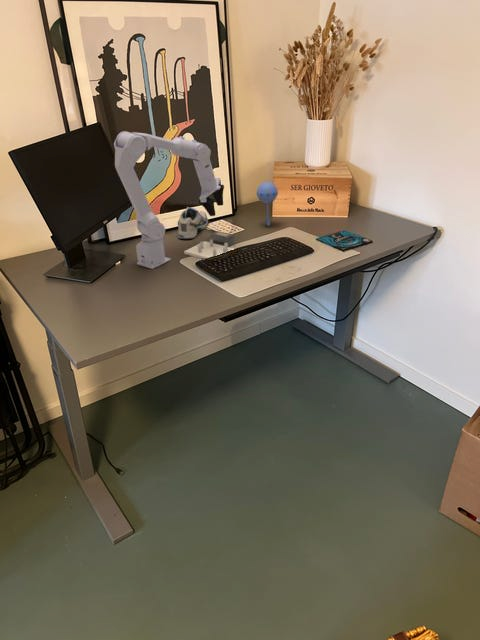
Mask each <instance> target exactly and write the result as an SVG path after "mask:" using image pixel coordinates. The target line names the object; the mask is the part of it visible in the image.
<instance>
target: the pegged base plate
mask: <svg viewBox="0 0 480 640" xmlns="http://www.w3.org/2000/svg"><path fill="white" fill-rule="evenodd" d="M234 249H235V248H234V247H231V246H230V247H228V243H224V246H222V245H218V244H214V243H213V240H212V239H211V238H210V239H209V241H203V240H200V241H199V243H198V244H196V245H194V246H192V247H190V248H188V249H186V250H184V252H183V254H184V255H186V256H189V257H190V256H191V257H193V258H194V257H195V258H197V257H198V259H201V258H209V257H212V256H217V255H220V254H222V253H226V252H227V251H230V250H234Z"/></svg>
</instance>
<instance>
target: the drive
mask: <svg viewBox="0 0 480 640" xmlns="http://www.w3.org/2000/svg"><path fill="white" fill-rule="evenodd" d="M210 239H212V240H213V243H214V244H218V245H222V246H224V243H228V247H230V248H231V247H232V246H234V245H235V234H232V233H227V232H223V231H218V230H217V231H214V232H213V233H211V234H210Z"/></svg>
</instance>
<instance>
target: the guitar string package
mask: <svg viewBox="0 0 480 640" xmlns="http://www.w3.org/2000/svg"><path fill="white" fill-rule="evenodd" d="M315 240H316V242H320V243H322V244H324V245H326V246H328V247H331V248H333V249H336V250H338V251H340V252H343V253H344V252H348V251H349V250H350V251H351V250H354V249H356V248H360V247H363V246H366V245H369V244H372V243H373V242H374V240H371V239H369V238H366V237H364V236H362V235H359V234H356V233H354V232H351V231H349V230H346V229H344V230H341V231H336V232H333V233H330V234H326V235H322V236H319V237H316V238H315ZM373 244H374V243H373Z"/></svg>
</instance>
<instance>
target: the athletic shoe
mask: <svg viewBox="0 0 480 640" xmlns="http://www.w3.org/2000/svg"><path fill="white" fill-rule="evenodd" d="M199 211H200V212H199ZM208 225H209V219H208V215H207V213H206V212H205V211H203V210H197V209H196V208H195V207H189V206H187V207H186V209H185V210H183V211H182V212H181V214H180V217H179V218H178V221H177V226H178V231H177V237H178V238H177V239H179V240H193V239H195V238H196V237H197V235H198V231H201V230H204V229H205V228H207V227H208ZM206 226H207V227H206Z"/></svg>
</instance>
